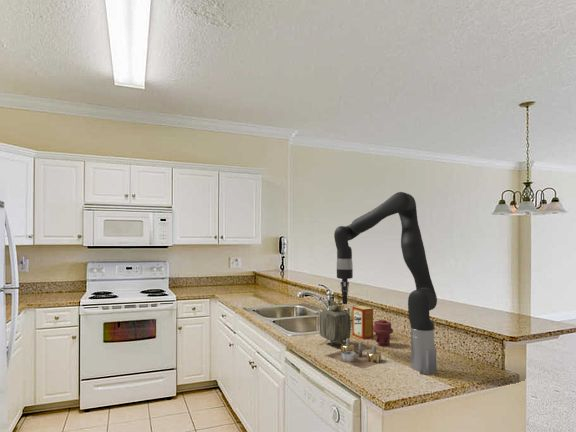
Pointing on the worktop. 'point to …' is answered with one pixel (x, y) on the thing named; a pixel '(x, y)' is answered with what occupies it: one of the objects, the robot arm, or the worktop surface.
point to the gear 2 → (374, 357)
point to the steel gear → (348, 356)
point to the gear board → (360, 357)
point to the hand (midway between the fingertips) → (344, 302)
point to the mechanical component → (382, 332)
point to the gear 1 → (347, 347)
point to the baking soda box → (362, 322)
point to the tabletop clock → (335, 323)
